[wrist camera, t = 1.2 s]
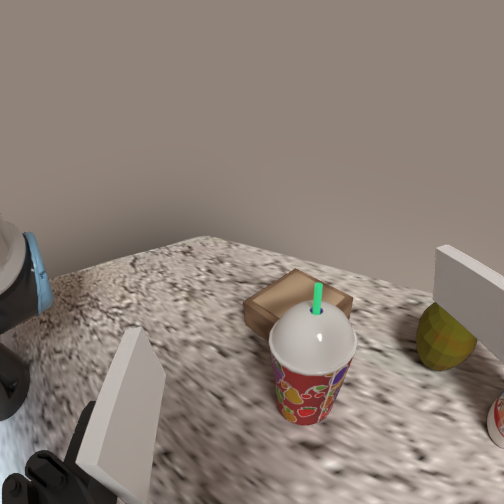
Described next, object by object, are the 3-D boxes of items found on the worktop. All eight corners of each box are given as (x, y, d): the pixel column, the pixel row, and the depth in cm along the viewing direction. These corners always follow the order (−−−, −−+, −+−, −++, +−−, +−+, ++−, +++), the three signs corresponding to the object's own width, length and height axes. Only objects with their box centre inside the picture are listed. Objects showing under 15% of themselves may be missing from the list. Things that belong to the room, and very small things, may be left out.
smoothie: (349, 411, 32) (390, 291, 22) (295, 446, 29) (309, 339, 18) (311, 371, 38) (323, 247, 28) (259, 399, 35) (247, 277, 25)
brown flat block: (245, 324, 47) (242, 300, 45) (295, 290, 54) (295, 267, 51) (301, 364, 40) (303, 341, 37) (348, 320, 46) (353, 296, 43)
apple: (401, 336, 42) (420, 281, 36) (450, 331, 40) (472, 279, 35) (415, 386, 33) (444, 333, 27) (468, 377, 32) (501, 325, 26)
